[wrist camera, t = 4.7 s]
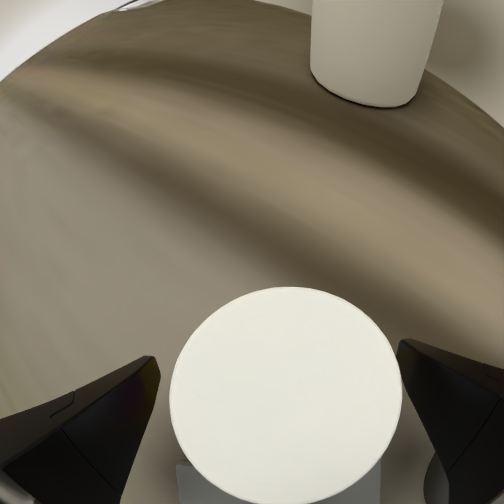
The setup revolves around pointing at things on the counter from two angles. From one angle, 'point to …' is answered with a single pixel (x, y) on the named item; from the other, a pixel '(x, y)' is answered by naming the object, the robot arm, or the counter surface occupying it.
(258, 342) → the supplement bottle
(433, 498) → the dark grey thick disc
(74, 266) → the counter surface
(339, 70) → the white jar
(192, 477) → the grey flat square piece
